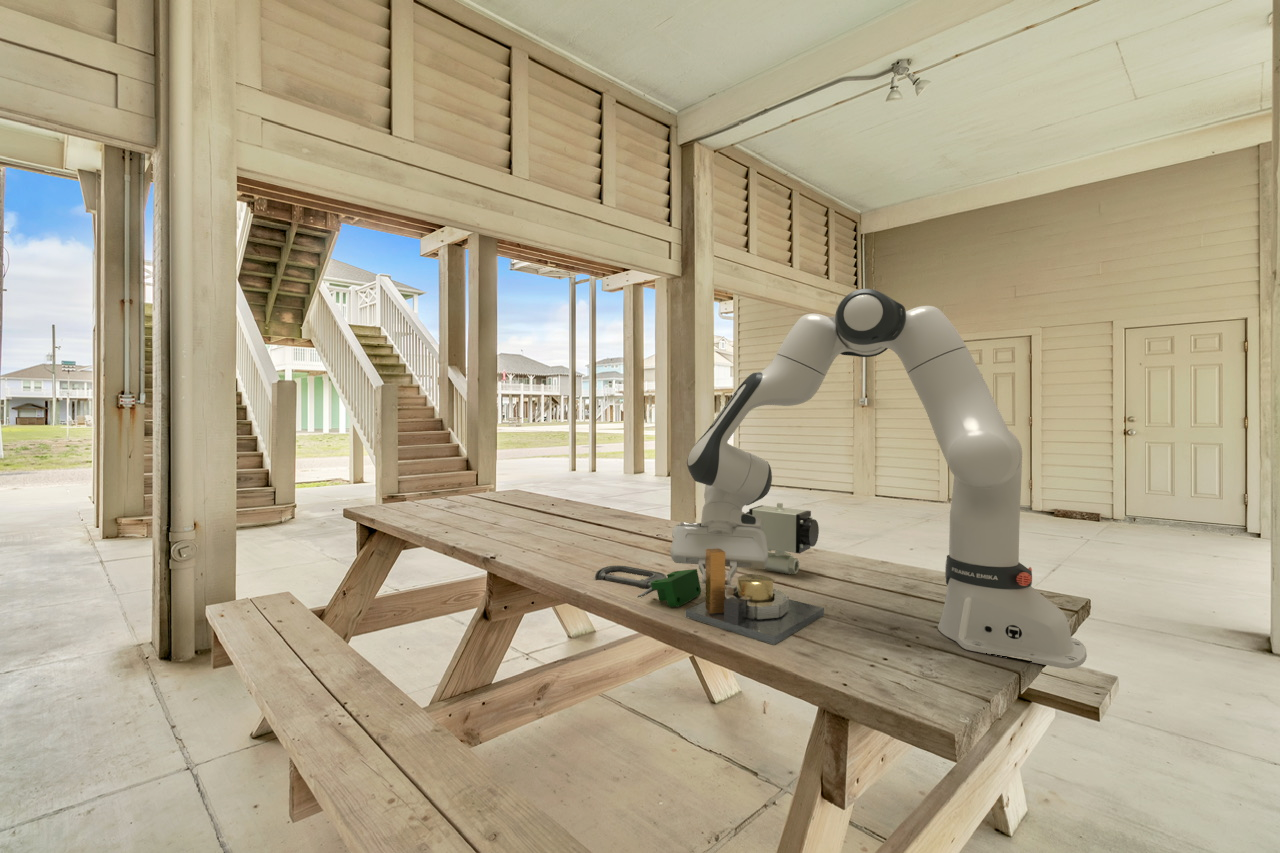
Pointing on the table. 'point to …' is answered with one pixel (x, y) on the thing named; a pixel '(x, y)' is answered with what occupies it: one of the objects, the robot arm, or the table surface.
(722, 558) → the ring of rectangular blocks
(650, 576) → the c clamp
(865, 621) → the table surface
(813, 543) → the ball valve
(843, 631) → the table surface
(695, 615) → the base plate
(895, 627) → the table surface
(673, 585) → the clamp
